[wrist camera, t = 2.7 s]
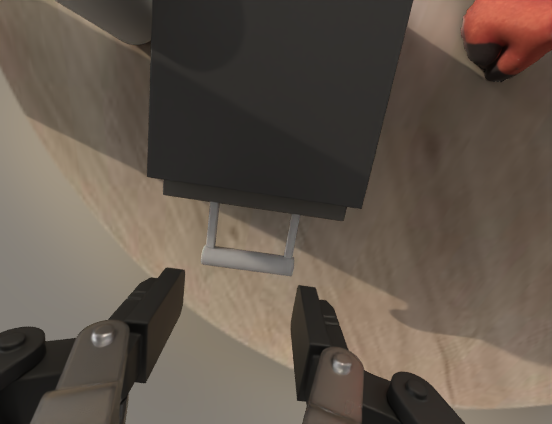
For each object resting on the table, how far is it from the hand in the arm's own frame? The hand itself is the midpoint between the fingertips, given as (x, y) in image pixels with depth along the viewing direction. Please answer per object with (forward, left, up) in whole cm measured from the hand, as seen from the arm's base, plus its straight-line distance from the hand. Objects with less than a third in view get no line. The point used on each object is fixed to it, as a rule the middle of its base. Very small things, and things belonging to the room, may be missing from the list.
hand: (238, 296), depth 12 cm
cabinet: (0, +11, -15) cm, 19 cm away
